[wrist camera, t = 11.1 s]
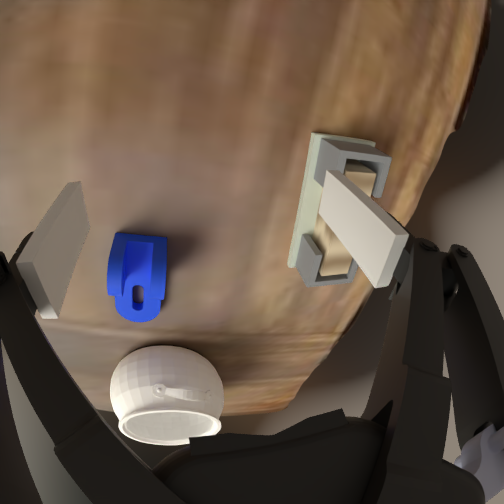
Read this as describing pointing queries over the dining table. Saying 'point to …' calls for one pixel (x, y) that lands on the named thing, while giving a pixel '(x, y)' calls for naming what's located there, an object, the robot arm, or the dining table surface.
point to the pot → (166, 395)
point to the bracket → (137, 274)
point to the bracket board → (318, 161)
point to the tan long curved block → (325, 239)
